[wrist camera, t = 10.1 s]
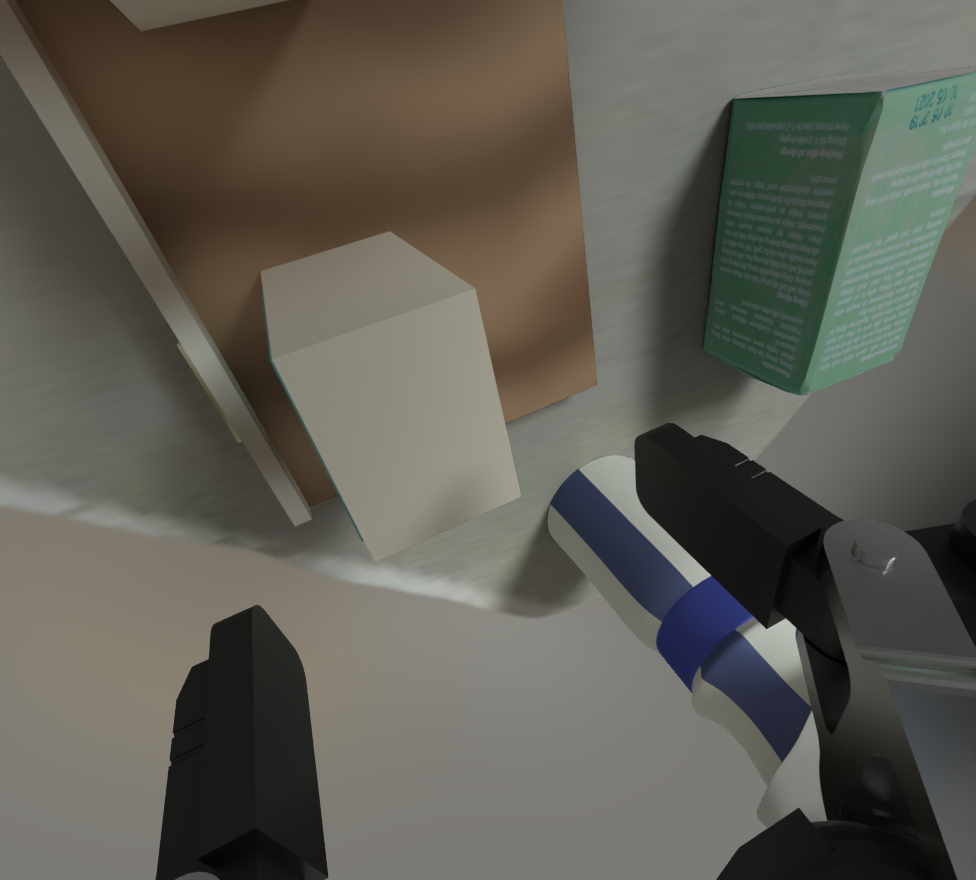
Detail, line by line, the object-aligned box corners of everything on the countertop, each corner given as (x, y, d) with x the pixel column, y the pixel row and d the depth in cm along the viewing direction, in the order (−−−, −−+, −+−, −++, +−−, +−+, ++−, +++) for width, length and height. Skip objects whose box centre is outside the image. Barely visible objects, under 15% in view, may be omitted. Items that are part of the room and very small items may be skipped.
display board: (-199, -301, 11) (-297, -397, 9) (503, -350, 14) (544, -428, 12) (286, 497, 25) (290, 528, 23) (582, 374, 28) (607, 392, 26)
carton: (256, 272, 18) (265, 361, 11) (390, 231, 19) (475, 288, 12) (329, 427, 22) (370, 564, 15) (436, 386, 23) (520, 496, 16)
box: (698, 356, 31) (804, 407, 25) (723, 97, 24) (883, 84, 18) (787, 323, 33) (906, 363, 27) (837, 73, 26) (1017, 54, 20)
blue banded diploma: (596, 428, 31) (1221, 949, 11) (667, 475, 36) (1185, 891, 16) (517, 529, 32) (939, 1137, 13) (595, 560, 37) (986, 1033, 18)
